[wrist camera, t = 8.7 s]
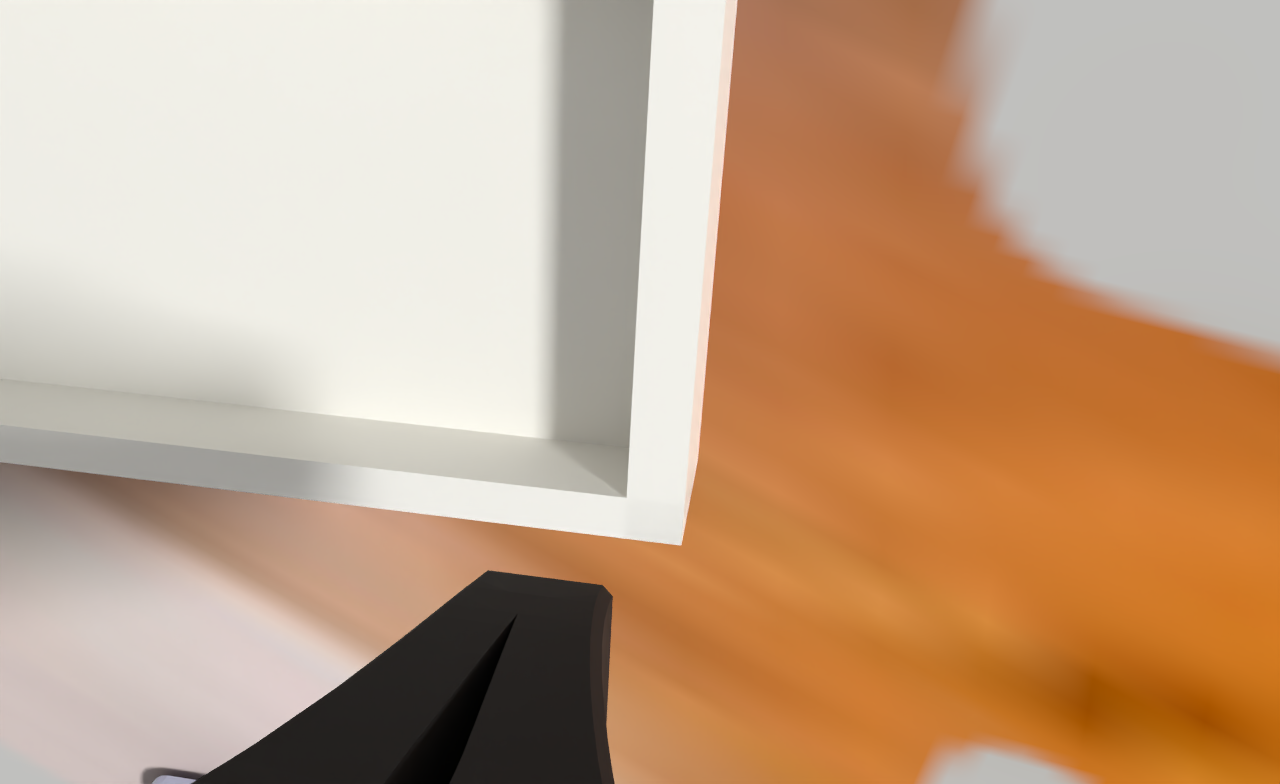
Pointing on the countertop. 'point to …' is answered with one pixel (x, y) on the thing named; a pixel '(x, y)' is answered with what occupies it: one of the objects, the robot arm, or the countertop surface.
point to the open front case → (366, 249)
